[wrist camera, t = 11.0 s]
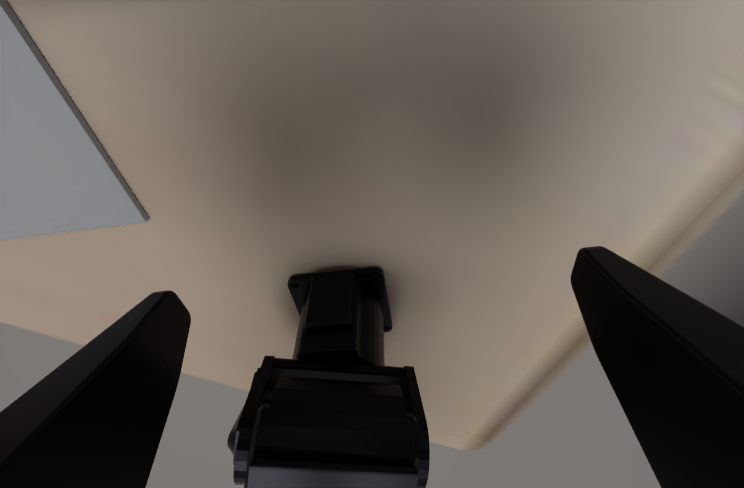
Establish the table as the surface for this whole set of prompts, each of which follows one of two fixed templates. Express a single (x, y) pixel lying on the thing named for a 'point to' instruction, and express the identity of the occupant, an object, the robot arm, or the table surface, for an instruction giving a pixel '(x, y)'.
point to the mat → (50, 151)
